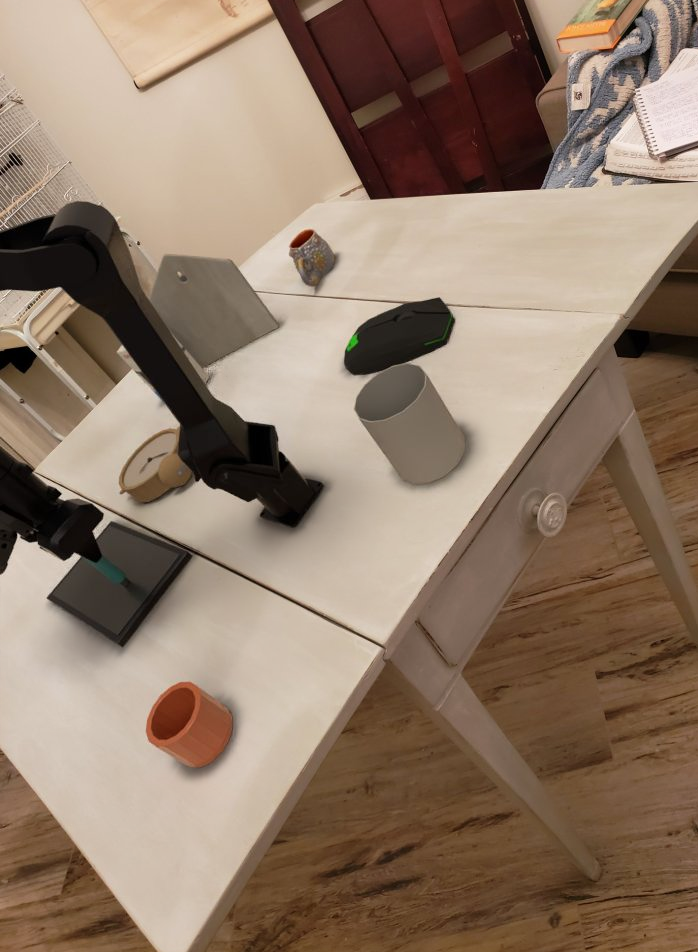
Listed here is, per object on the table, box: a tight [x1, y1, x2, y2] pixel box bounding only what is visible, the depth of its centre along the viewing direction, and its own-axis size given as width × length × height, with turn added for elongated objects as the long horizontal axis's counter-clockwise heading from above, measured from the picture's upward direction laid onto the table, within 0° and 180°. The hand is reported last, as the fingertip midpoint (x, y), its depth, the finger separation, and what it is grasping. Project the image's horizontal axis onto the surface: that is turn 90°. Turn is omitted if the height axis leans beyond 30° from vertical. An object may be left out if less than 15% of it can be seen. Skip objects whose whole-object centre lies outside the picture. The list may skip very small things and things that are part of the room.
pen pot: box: [145, 681, 234, 769], centre depth 67 cm, size 6×6×5 cm
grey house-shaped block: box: [148, 253, 280, 369], centre depth 118 cm, size 16×8×19 cm, turn 96°
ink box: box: [116, 333, 210, 402], centre depth 116 cm, size 8×5×12 cm, turn 68°
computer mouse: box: [343, 296, 455, 376], centre depth 98 cm, size 11×16×4 cm
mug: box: [288, 228, 336, 287], centre depth 123 cm, size 12×7×7 cm, turn 174°
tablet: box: [46, 520, 193, 648], centre depth 92 cm, size 20×13×1 cm, turn 54°
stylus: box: [80, 555, 129, 586], centre depth 86 cm, size 2×2×11 cm
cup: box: [353, 362, 466, 485], centre depth 77 cm, size 8×8×10 cm
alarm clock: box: [118, 426, 193, 503], centre depth 103 cm, size 11×5×15 cm
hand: (95, 557), depth 86 cm, fingers closed on stylus, 1 cm apart
